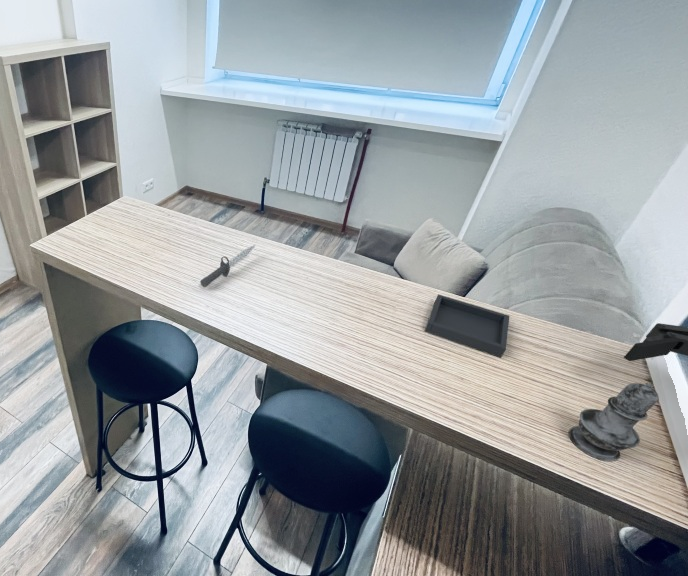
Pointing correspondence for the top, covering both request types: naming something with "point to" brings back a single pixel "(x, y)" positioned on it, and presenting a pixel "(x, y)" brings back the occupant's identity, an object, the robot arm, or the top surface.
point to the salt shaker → (614, 423)
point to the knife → (225, 267)
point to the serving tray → (469, 325)
